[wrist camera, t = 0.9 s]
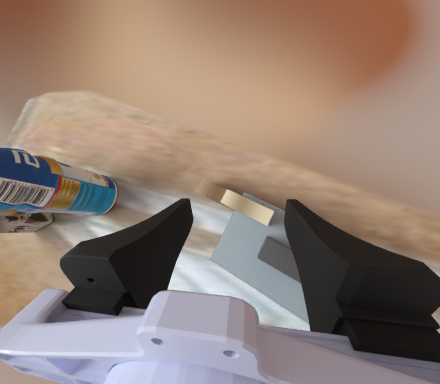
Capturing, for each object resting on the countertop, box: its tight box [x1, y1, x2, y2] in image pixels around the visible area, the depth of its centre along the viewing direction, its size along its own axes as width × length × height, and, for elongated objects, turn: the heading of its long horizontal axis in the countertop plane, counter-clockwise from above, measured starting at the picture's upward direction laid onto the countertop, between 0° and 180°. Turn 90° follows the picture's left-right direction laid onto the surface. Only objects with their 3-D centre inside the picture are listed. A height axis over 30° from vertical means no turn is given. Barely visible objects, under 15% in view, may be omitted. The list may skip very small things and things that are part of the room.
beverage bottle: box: [0, 148, 117, 216], centre depth 24 cm, size 8×8×20 cm
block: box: [221, 189, 274, 226], centre depth 20 cm, size 6×2×2 cm, turn 62°
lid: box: [210, 192, 309, 324], centre depth 19 cm, size 16×10×5 cm, turn 62°
